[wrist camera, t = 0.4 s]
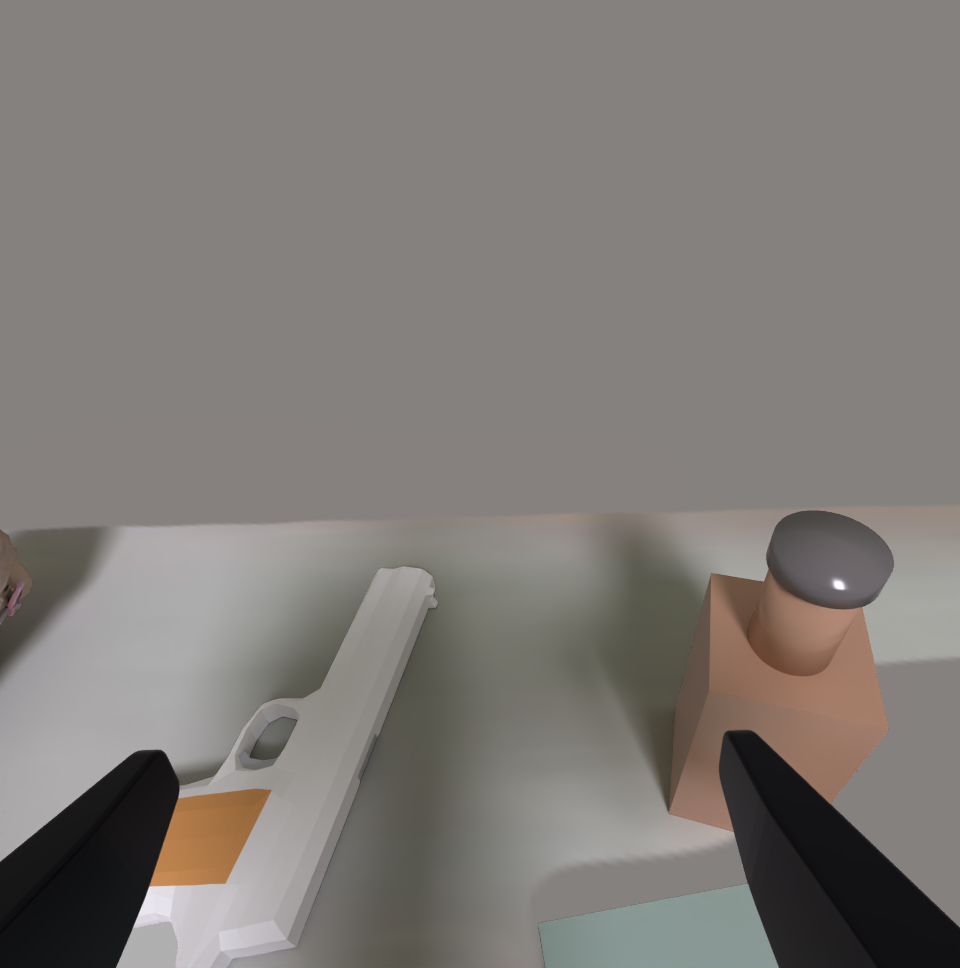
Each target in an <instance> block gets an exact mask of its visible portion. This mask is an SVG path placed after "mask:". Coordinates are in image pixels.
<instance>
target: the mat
mask: <svg viewBox="0 0 960 968" xmlns="http://www.w3.org/2000/svg"><path fill="white" fill-rule="evenodd" d="M538 929H539V935H540V941H541V947H542V953H543V958H544V964H545V968H779V967H778V964H777V962H776V959H775V956H774V954H773V951H772V948H771V946H770V943H769V940H768V938H767V935H766V933H765V930H764V927H763V925H762V922H761V919H760V917H759V914H758V911H757V909H756V906H755V903H754V900H753V897H752V894H751V892H750V889H749V885H748V883H747V884H742V885H737V886H731V887H726V888H721V889H716V890H710V891H705V892H699V893H694V894H689V895H684V896H678V897H673V898H668V899H662V900H657V901H652V902H647V903H641V904H636V905H631V906H625V907H621V908H615V909H609V910H605V911H599V912H594V913H589V914H583V915H578V916H573V917H567V918H562V919H557V920H552V921H546V922H541V923H538Z"/></svg>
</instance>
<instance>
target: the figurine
mask: <svg viewBox="0 0 960 968" xmlns="http://www.w3.org/2000/svg"><path fill="white" fill-rule="evenodd" d="M32 583H33V581H32V579H31V578H30V576H29V574H28V573H27V571H26V569H25V568H24V566H23V565H22V564H20V563H18V559H17V551H16V548H15V547H13V546H12V545H11V542H10V539H9V536H8V535H7V534H5V533H4V532H3V531H1V530H0V611H1V612H0V625H1V624H2V622H3V621H4V619H5V617H6V616H13V615H14V614H15V612H16V610H19V608H20V607H21V606H22V604H21V603H20V602H21V599H23V598H24V597H25V596H26V595H27V594H28V593H29V592H30V590H31V588H32Z"/></svg>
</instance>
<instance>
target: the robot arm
mask: <svg viewBox="0 0 960 968" xmlns="http://www.w3.org/2000/svg"><path fill="white" fill-rule="evenodd" d="M719 777H720V782H721V786H722V790H723V793H724V797H725V801H726V805H727V808H728V812H729V816H730V819H731V823H732V827H733V831H734V834H735V838H736V842H737V845H738V849H739V853H740V856H741V860H742V864H743V868H744V871H745V874H746V878H747V882H748V885H749V889H750V892H751V894H752V897H753V900H754V903H755V906H756V909H757V911H758V914H759V917H760V919H761V922H762V925H763V927H764V930H765V933H766V935H767V938H768V940H769V943H770V946H771V948H772V951H773V954H774V956H775V959H776V962H777V964H778V967H779V968H960V927H959V926H958V925H956V923H955V922H953V921H952V920H951V919H950V918H949V917H948V916H947V915H946V914H945V913H944V912H943V911H942V910H941V909H940V908H939V907H938V906H937V905H936V904H935V903H934V902H932V901H931V900H930V899H929V898H928V897H927V896H926V895H925V894H924V893H923V892H922V891H921V890H920V889H919V888H918V887H917V886H916V885H915V884H914V883H913V882H911V880H910V879H908V878H907V877H906V876H905V875H904V874H903V873H902V872H901V871H900V870H899V869H898V868H897V867H896V866H895V865H894V864H893V863H892V862H890V860H889V859H887V858H886V857H885V856H884V855H883V854H882V853H881V852H880V851H879V850H878V849H877V848H876V847H875V846H874V845H873V844H871V842H870V841H869V840H868V839H866V838H865V836H863V835H862V834H861V833H860V832H859V831H858V830H857V829H856V828H855V827H854V826H853V825H852V824H851V823H850V822H848V820H847V819H845V817H844V816H843V815H841V814H840V813H839V812H838V811H837V810H836V809H835V808H834V807H833V806H832V805H831V804H830V803H829V802H828V801H827V800H826V799H825V798H824V797H823V796H822V795H821V794H819V793H818V792H817V791H816V790H815V789H814V788H813V787H812V786H811V785H810V784H809V783H808V782H807V781H806V780H805V779H804V778H803V777H802V776H801V775H800V774H799V773H798V772H796V771H795V770H794V769H793V768H792V767H791V766H790V765H789V764H788V763H787V762H786V761H785V760H784V759H783V758H782V757H781V756H780V755H779V754H778V753H777V752H776V751H774V750H773V749H772V748H771V747H770V746H769V745H768V744H767V743H766V742H765V741H764V740H763V739H762V738H761V737H760V736H759V735H758V734H757V733H755V732H754V731H751V730H728V731H726V732H725V733H724V735H723V740H722V746H721V753H720V759H719ZM179 792H180V785H179V780H178V778H177V776H176V774H175V772H174V769H173V767H172V765H171V763H170V761H169V759H168V757H167V755H166V753H165V752H163V751H162V750H141V751H137V752H135V753H133V754H132V755H130V756H129V757H128V758H126V759H125V760H124V761H123V762H122V763H120V764H119V765H118V766H117V767H115V768H114V769H113V770H112V771H111V772H109V773H108V774H107V775H106V776H104V777H103V778H102V779H101V780H100V781H98V782H97V783H96V784H95V785H93V786H92V787H91V788H90V789H89V790H87V791H86V792H85V793H84V794H82V795H81V796H80V797H79V798H78V799H76V800H75V801H74V802H73V803H71V804H70V805H69V806H68V807H67V808H65V809H64V810H63V811H62V812H60V813H59V814H58V815H57V816H56V817H54V818H53V819H52V820H51V821H49V822H48V823H47V824H46V825H45V826H43V827H42V828H41V829H40V830H38V831H37V832H36V833H35V834H34V835H32V836H31V837H30V838H29V839H27V840H26V841H25V842H24V843H23V844H21V845H20V846H19V847H18V848H16V849H15V850H14V851H13V852H12V853H10V854H9V855H8V856H7V857H5V858H4V859H3V860H2V861H1V862H0V968H116V966H117V964H118V962H119V959H120V957H121V955H122V952H123V950H124V948H125V945H126V943H127V941H128V938H129V936H130V934H131V931H132V929H133V927H134V924H135V922H136V920H137V917H138V915H139V912H140V910H141V907H142V905H143V902H144V900H145V897H146V894H147V892H148V889H149V886H150V883H151V880H152V877H153V874H154V871H155V868H156V865H157V862H158V859H159V856H160V853H161V850H162V847H163V843H164V840H165V837H166V834H167V831H168V828H169V825H170V822H171V819H172V816H173V813H174V810H175V807H176V804H177V801H178V797H179Z"/></svg>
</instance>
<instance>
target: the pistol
mask: <svg viewBox="0 0 960 968" xmlns="http://www.w3.org/2000/svg"><path fill="white" fill-rule="evenodd" d="M435 590H436V589H435V584H434V580H433V576H431V575H430V574H429V573H427V572H426V571H425V570H423V569H420V568H412V567H405V566H402V567H399V568H395V569H389V568H380V569H379V570H378V571H377V572H376V574H375V576H374V579H373V581H372V583H371V585H370V587H369V589H368V591H367V593H366V595H365V597H364V599H363V601H362V603H361V605H360V607H359V609H358V611H357V614H356V616H355V618H354V620H353V622H352V624H351V626H350V628H349V630H348V632H347V634H346V636H345V638H344V640H343V642H342V645H341V647H340V649H339V651H338V653H337V655H336V657H335V659H334V661H333V663H332V665H331V667H330V669H329V671H328V673H327V676H326V678H325V680H324V682H323V684H322V686H321V688H320V689H318V690H317V691H315V692H313V693H311V694H310V695H308V696H306V697H304V698H280V699H275V700H272V701H269V702H266V703H264V704H262V705H261V706H260V707H259V709H258V710H257V711H256V713H255V714H254V715H253V716H252V718H251V719H250V720H249V721H248V723H247V724H246V725H245V726H244V728H243V730H242V732H241V734H240V735H239V737H238V739H237V741H236V743H235V745H234V747H233V749H232V751H231V752H230V754H229V756H228V758H227V759H226V761H225V762H224V763H223V765H222V766H221V768H220V769H219V771H218V772H217V774H216V775H215V776H214V777H210V778H207V779H204V780H200V781H197V782H194V783H190V784H187V785H180V792H179V797H178V801H177V804H176V807H175V810H174V813H173V816H172V819H171V822H170V825H169V828H168V831H167V834H166V837H165V840H164V843H163V847H162V850H161V853H160V856H159V859H158V862H157V865H156V868H155V871H154V874H153V877H152V880H151V883H150V886H149V889H148V892H147V894H146V897H145V900H144V902H143V905H142V907H141V910H140V912H139V915H138V917H137V920H136V922H135V924H134V927H133V928H137V927H142V926H147V925H152V924H157V923H162V922H171V923H172V925H173V928H174V931H175V935H176V938H177V941H178V951H177V959H176V967H175V968H227V967H228V965H229V964H230V962H231V961H232V959H233V958H239V957H247V956H255V955H260V954H264V953H269V952H273V951H278V950H284V949H290V948H296V947H297V944H298V942H299V939H300V937H301V934H302V932H303V929H304V926H305V924H306V921H307V919H308V916H309V914H310V911H311V908H312V906H313V903H314V901H315V898H316V896H317V893H318V891H319V888H320V885H321V883H322V880H323V878H324V875H325V873H326V870H327V867H328V865H329V862H330V860H331V857H332V855H333V852H334V849H335V847H336V844H337V842H338V839H339V837H340V834H341V832H342V829H343V826H344V824H345V821H346V819H347V816H348V814H349V811H350V808H351V806H352V803H353V801H354V798H355V796H356V793H357V790H358V788H359V785H360V780H361V778H362V775H363V773H364V770H365V767H366V765H367V762H368V760H369V757H370V755H371V752H372V749H373V747H374V744H375V742H376V739H377V737H378V736H379V734H380V731H381V729H382V726H383V724H384V721H385V719H386V716H387V713H388V711H389V708H390V706H391V703H392V701H393V698H394V696H395V693H396V690H397V688H398V685H399V683H400V680H401V678H402V675H403V672H404V670H405V667H406V665H407V662H408V660H409V657H410V654H411V652H412V649H413V647H414V644H415V642H416V639H417V636H418V634H419V631H420V629H421V626H422V624H423V621H424V619H425V616H426V613H427V611H428V608H436V606H437V604H438V602H437V600H436V599H435V598H434V597H433V595H434V593H435ZM282 716H283V717H287V718H291V719H296V720H298V721H297V723H296V726H295V728H294V730H293V732H292V734H291V736H290V738H289V740H288V742H287V744H286V746H285V748H284V749H283V751H282V752H281V754H280V755H279V757H278V758H273V759H268V760H258V759H253V758H250V757H249V756H250V754H251V752H252V750H253V748H254V745H255V743H256V741H257V739H258V738H259V737H260V735H261V734H262V733H263V731H264V730H265V728H266V727H267V726H268V724H269V723H270V722H272V721H274V720H276V719H278V718H280V717H282Z"/></svg>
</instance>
